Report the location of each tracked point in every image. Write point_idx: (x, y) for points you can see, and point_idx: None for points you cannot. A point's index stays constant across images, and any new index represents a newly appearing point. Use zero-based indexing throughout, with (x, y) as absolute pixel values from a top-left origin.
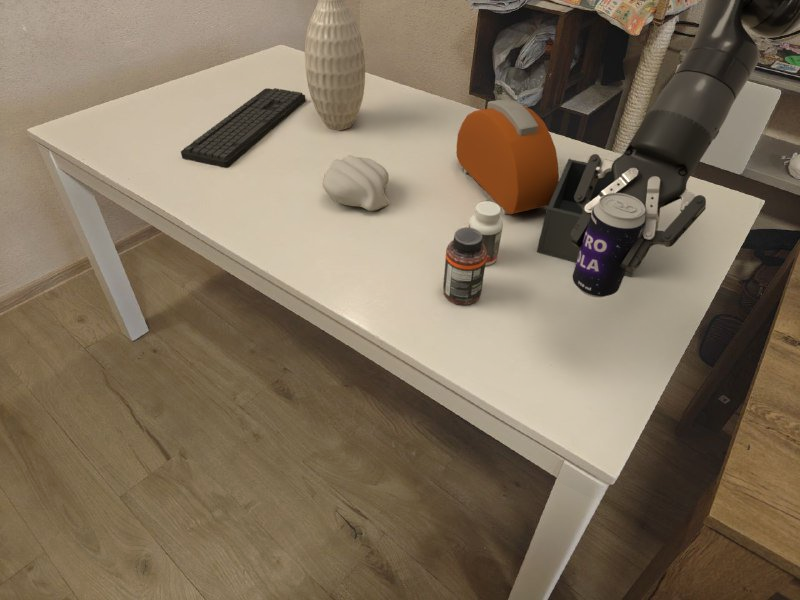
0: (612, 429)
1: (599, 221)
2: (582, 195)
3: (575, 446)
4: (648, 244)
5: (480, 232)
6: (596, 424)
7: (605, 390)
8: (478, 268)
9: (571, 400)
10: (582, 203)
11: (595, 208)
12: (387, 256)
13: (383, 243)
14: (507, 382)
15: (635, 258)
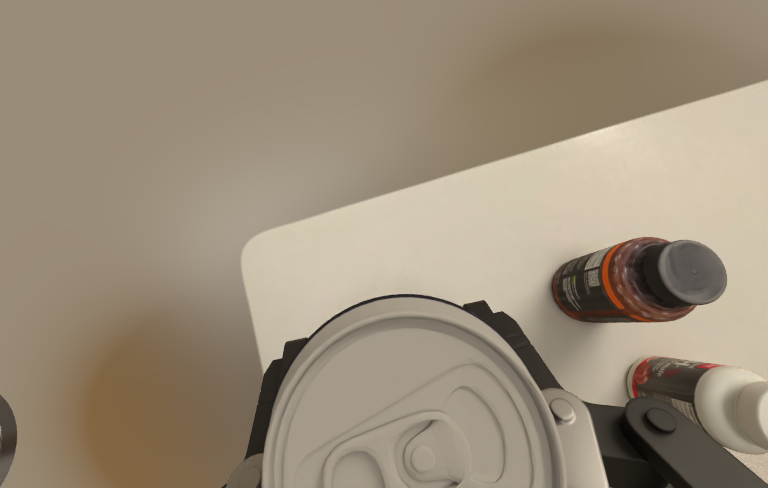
0: (270, 288)
1: (421, 295)
2: (660, 440)
3: (284, 231)
4: (249, 453)
5: (711, 372)
6: (287, 276)
7: (314, 331)
8: (600, 278)
9: (332, 278)
10: (612, 420)
11: (503, 343)
12: (719, 244)
13: (758, 258)
14: (402, 229)
15: (276, 382)
